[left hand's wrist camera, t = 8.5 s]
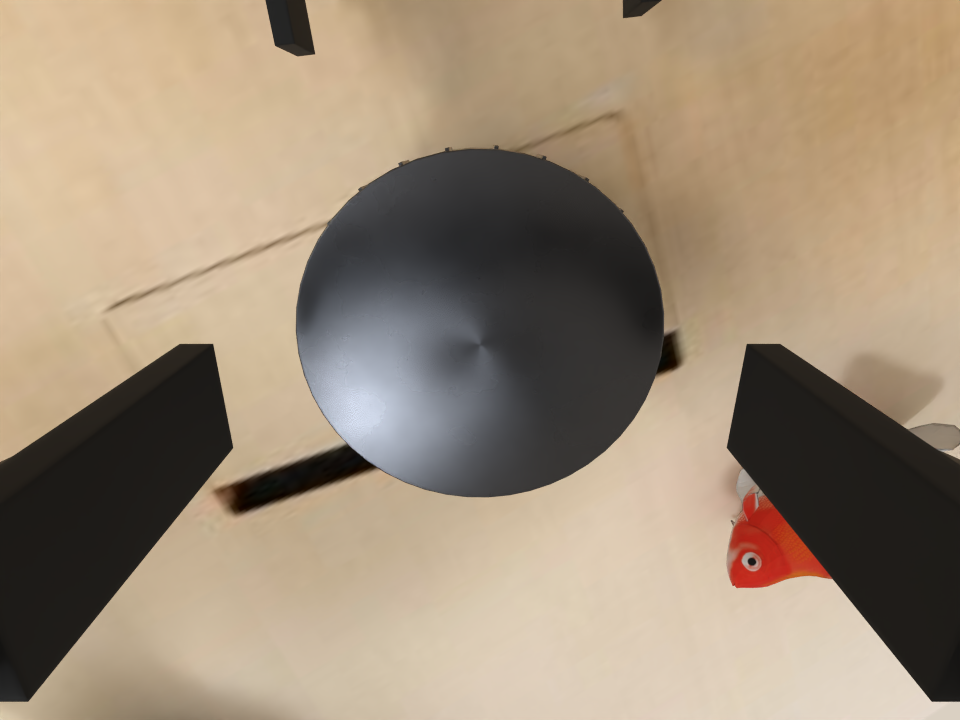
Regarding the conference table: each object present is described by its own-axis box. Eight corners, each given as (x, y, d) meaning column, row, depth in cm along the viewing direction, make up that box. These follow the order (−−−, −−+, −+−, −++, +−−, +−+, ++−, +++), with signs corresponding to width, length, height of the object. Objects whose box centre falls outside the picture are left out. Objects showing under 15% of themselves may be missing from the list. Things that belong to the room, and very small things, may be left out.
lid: (676, 161, 16) (705, 163, 14) (613, 473, 20) (628, 510, 18) (309, 129, 16) (283, 127, 14) (320, 452, 20) (301, 488, 18)
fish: (688, 442, 30) (865, 589, 23) (871, 334, 35) (1064, 429, 28) (669, 546, 37) (800, 683, 30) (824, 444, 42) (969, 542, 35)
